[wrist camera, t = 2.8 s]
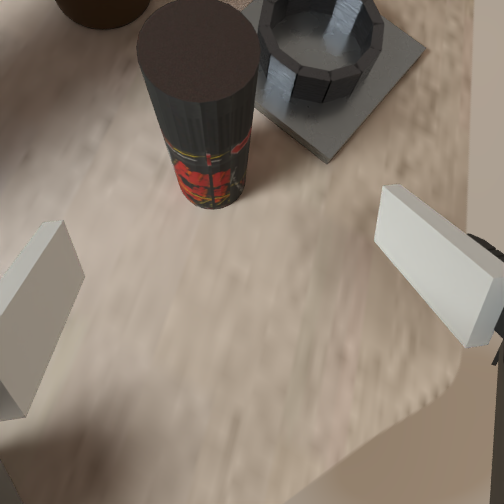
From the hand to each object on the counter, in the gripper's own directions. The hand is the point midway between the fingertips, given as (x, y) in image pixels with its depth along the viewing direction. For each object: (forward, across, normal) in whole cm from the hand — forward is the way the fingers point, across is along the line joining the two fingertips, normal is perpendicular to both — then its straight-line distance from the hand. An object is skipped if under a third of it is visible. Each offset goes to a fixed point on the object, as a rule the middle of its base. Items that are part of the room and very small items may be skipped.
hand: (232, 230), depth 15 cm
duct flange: (+26, +11, +4) cm, 28 cm away
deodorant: (+18, 0, -4) cm, 18 cm away
